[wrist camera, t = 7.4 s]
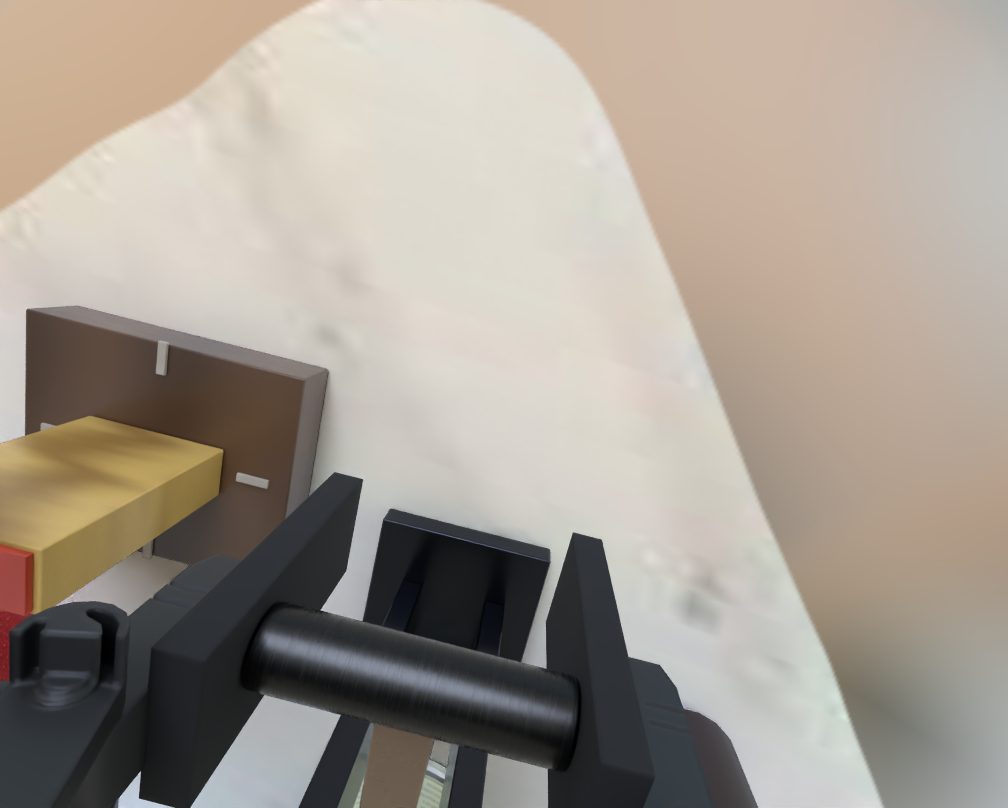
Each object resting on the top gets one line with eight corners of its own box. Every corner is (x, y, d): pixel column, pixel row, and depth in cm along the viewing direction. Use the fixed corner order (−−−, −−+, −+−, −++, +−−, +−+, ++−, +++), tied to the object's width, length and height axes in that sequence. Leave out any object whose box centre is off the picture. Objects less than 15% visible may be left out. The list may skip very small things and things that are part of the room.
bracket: (390, 507, 25) (193, 808, 11) (550, 548, 25) (560, 905, 11) (356, 675, 28) (159, 1097, 14) (502, 713, 28) (459, 1179, 13)
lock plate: (70, 501, 27) (19, 526, 24) (77, 302, 24) (21, 306, 22) (298, 560, 26) (272, 591, 24) (329, 366, 24) (304, 377, 21)
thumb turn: (88, 461, 23) (-175, 569, 15) (90, 414, 23) (-182, 498, 14) (219, 495, 23) (31, 623, 15) (224, 449, 23) (32, 553, 14)
